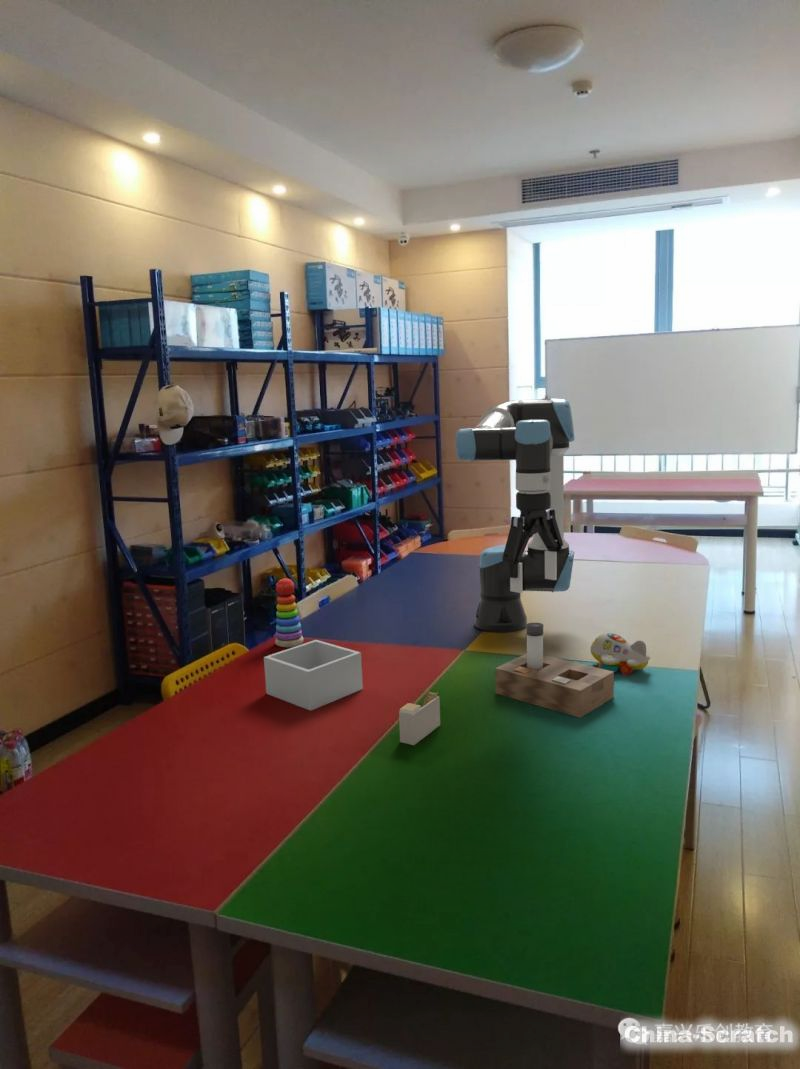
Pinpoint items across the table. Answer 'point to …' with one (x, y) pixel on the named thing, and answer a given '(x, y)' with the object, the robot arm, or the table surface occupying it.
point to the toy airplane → (619, 653)
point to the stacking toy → (287, 616)
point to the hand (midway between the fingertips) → (534, 585)
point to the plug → (534, 646)
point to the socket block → (556, 685)
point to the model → (419, 719)
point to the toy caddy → (313, 674)
